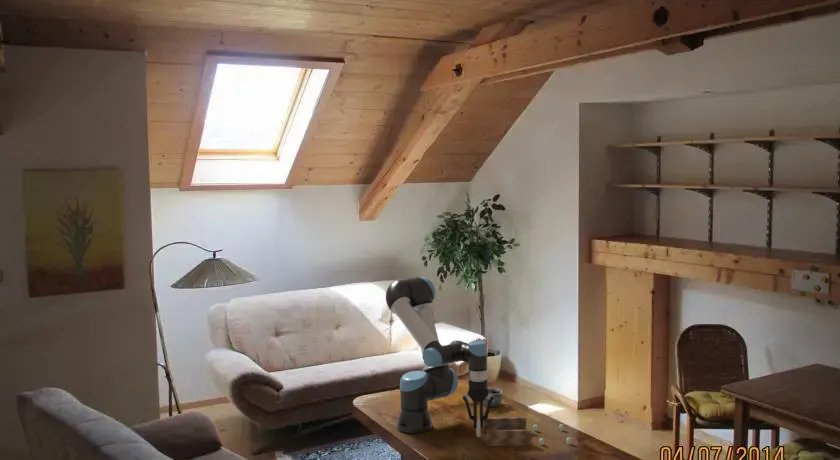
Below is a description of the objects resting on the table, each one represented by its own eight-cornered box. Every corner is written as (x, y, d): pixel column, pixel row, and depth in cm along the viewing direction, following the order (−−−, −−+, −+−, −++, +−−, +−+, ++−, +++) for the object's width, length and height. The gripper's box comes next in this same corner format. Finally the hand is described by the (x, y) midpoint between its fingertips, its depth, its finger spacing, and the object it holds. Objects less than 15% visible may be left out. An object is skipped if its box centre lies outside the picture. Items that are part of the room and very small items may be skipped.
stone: (491, 450, 306) (505, 438, 300) (483, 431, 311) (497, 419, 305) (508, 448, 312) (522, 436, 306) (500, 429, 317) (514, 417, 311)
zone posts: (539, 445, 301) (539, 439, 301) (533, 430, 317) (533, 424, 317) (571, 444, 301) (571, 439, 301) (563, 429, 317) (563, 424, 317)
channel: (486, 446, 301) (486, 431, 300) (483, 431, 317) (483, 417, 316) (531, 445, 301) (531, 430, 300) (525, 430, 317) (525, 416, 316)
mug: (505, 404, 351) (505, 383, 350) (493, 412, 340) (493, 390, 339) (487, 400, 356) (487, 380, 355) (474, 408, 345) (474, 387, 344)
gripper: (462, 382, 303) (463, 439, 305) (494, 381, 303) (495, 438, 305) (461, 376, 310) (461, 432, 312) (492, 376, 310) (493, 431, 312)
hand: (478, 435), depth 309 cm, fingers closed
